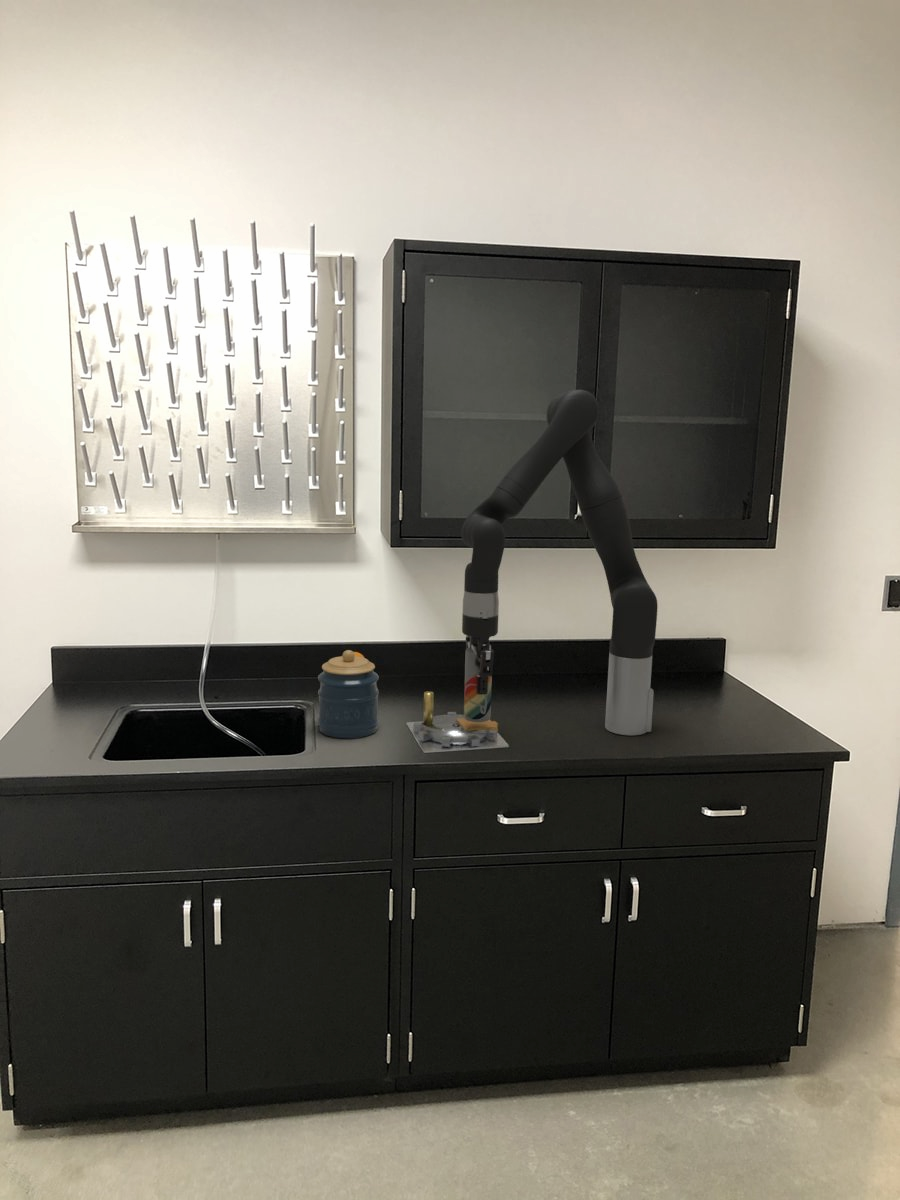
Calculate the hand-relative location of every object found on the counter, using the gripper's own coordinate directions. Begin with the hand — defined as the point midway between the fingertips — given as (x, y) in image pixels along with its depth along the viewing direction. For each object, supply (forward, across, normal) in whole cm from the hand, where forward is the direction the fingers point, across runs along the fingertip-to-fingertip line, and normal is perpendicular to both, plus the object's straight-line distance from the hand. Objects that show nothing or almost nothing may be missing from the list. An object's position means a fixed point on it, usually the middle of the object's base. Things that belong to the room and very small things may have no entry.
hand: (478, 689), depth 199 cm
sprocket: (+10, -1, -4) cm, 11 cm away
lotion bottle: (+7, 0, 0) cm, 7 cm away
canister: (+10, -9, -26) cm, 30 cm away
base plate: (+10, -1, -4) cm, 11 cm away
